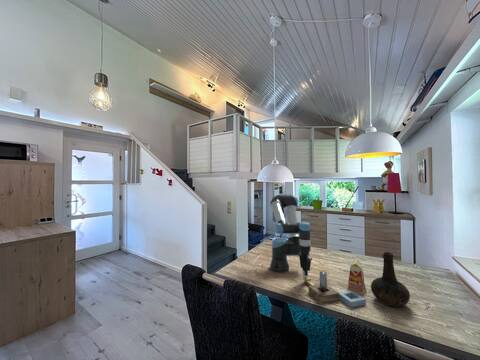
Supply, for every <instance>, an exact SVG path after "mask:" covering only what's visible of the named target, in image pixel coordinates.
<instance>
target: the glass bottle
mask: <svg viewBox="0 0 480 360" xmlns="http://www.w3.org/2000/svg"><path fill="white" fill-rule="evenodd" d="M381 257H382V258H383V268H382V269H383V270H382V276H381V277H377V278H375V279H373V280H372V281H371V283H370V289H371V293H372V295H373V296H374V298H376V299H377V300H378V301H379V302H380V303H382V304H384V305H386V306H389V307H393V308H399V307H401V308H402V307H404V306H406V305H407V304H408V303H409V301H410V298H411V295H410V291H409V289H408V287H406V285H405V284H403V283H402V282H401V281H398V278H397V276H396V273H395V272H396V271H395V266H394V254H393V253H391V252H388V251H385V252H383V254H382V255H381Z"/></svg>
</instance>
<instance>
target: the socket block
mask: <svg viewBox="0 0 480 360" xmlns="http://www.w3.org/2000/svg"><path fill="white" fill-rule="evenodd" d="M308 293H309V294H310V295H311V296H312V297H314V298H315V299H316V300H317V301H318V302H319V303H321V304H325V303H331V302H335V301H339V300H340V299H339V292H338V291H337V290H336V289H334V288H333V287H331V286H329V285H328V284H327V292H321V291H320V283H319V284H315V285H312V286H309V285H308Z"/></svg>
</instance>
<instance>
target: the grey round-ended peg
mask: <svg viewBox="0 0 480 360" xmlns="http://www.w3.org/2000/svg"><path fill="white" fill-rule="evenodd" d="M319 284H320V291H321V292H327V285H328V273H327V272H326V271H323V270H322V271H319Z"/></svg>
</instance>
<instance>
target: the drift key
mask: <svg viewBox="0 0 480 360" xmlns="http://www.w3.org/2000/svg"><path fill="white" fill-rule="evenodd" d="M303 284H304V285H307V286H308V287H309V286H312V285H316V284H315V283H314V282H312V278H310V277H308V278H304V280H303Z"/></svg>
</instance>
